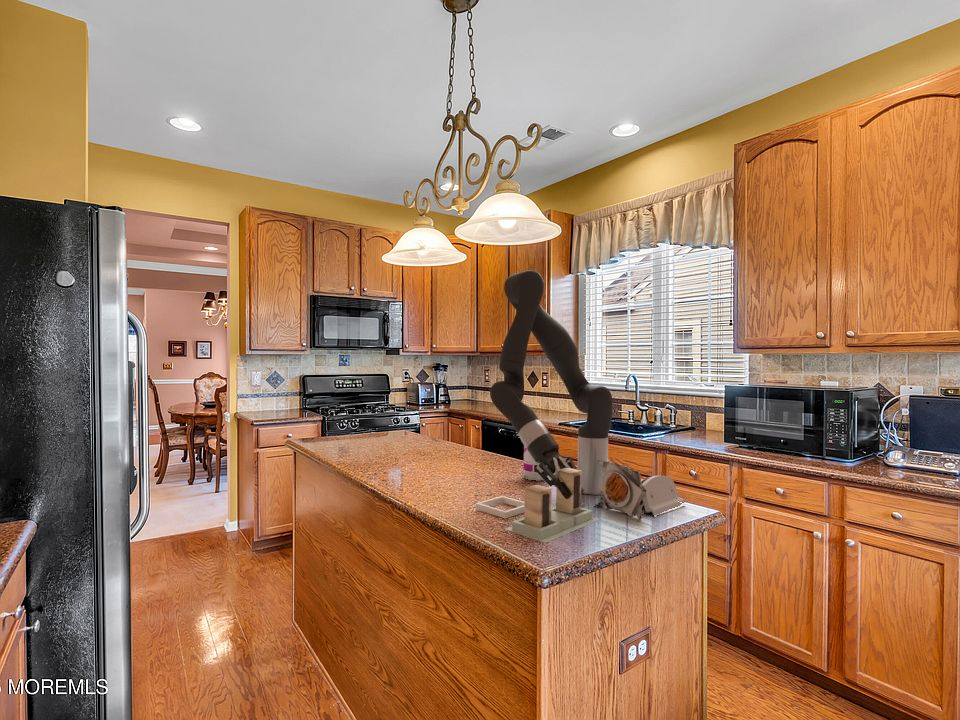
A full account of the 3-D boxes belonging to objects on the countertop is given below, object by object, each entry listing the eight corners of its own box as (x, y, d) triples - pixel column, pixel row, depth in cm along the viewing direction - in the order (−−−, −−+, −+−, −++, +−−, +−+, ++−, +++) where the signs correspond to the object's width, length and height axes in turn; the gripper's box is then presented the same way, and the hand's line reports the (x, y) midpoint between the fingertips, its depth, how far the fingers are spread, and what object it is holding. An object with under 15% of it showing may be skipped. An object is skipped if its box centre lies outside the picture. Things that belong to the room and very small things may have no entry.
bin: (502, 504, 142) (502, 495, 142) (531, 513, 134) (531, 504, 134) (475, 512, 134) (475, 503, 134) (505, 522, 127) (505, 512, 127)
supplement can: (521, 480, 170) (521, 436, 170) (526, 474, 178) (527, 432, 178) (545, 482, 168) (545, 437, 168) (549, 476, 176) (549, 433, 176)
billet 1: (535, 525, 122) (536, 484, 122) (551, 530, 118) (552, 488, 118) (524, 530, 118) (524, 487, 118) (539, 535, 115) (540, 491, 115)
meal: (591, 507, 141) (592, 460, 140) (601, 505, 143) (602, 459, 143) (636, 522, 128) (637, 471, 128) (646, 519, 131) (647, 469, 131)
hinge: (654, 517, 133) (643, 479, 135) (639, 519, 136) (629, 481, 139) (686, 505, 143) (675, 470, 146) (671, 507, 147) (661, 473, 149)
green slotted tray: (560, 512, 136) (561, 501, 136) (600, 523, 127) (600, 511, 127) (504, 533, 119) (504, 520, 119) (545, 547, 111) (545, 533, 111)
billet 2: (566, 505, 131) (567, 467, 131) (581, 510, 128) (582, 470, 128) (555, 509, 128) (556, 470, 128) (571, 513, 124) (572, 473, 124)
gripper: (529, 434, 128) (568, 492, 119) (562, 429, 138) (599, 482, 130) (513, 452, 131) (549, 509, 123) (546, 446, 142) (581, 498, 133)
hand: (575, 495), depth 126 cm, fingers closed on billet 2, 4 cm apart
